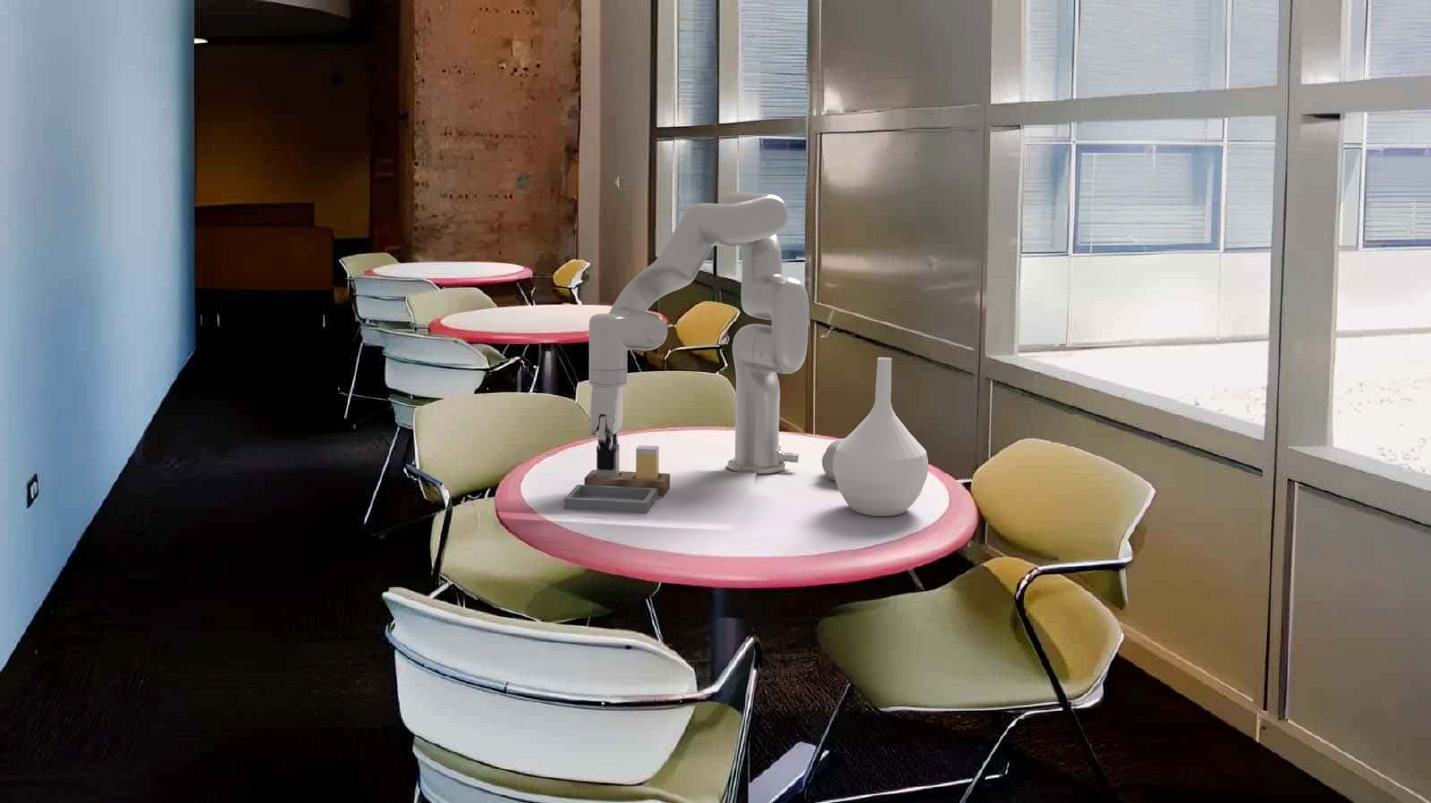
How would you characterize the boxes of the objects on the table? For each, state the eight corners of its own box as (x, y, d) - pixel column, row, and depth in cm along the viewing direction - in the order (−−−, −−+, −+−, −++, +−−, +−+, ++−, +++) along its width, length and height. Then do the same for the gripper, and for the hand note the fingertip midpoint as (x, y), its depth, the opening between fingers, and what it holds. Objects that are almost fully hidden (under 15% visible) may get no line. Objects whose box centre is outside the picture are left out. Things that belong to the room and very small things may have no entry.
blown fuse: (619, 487, 265) (619, 444, 263) (616, 491, 262) (616, 447, 260) (599, 487, 265) (599, 443, 264) (596, 490, 262) (596, 446, 261)
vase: (833, 521, 247) (838, 364, 242) (829, 496, 265) (834, 350, 260) (931, 524, 246) (938, 367, 241) (921, 499, 264) (927, 352, 259)
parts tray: (657, 503, 258) (657, 488, 257) (647, 518, 247) (647, 502, 246) (577, 499, 260) (577, 484, 259) (564, 513, 249) (564, 498, 248)
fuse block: (669, 492, 266) (669, 473, 265) (663, 501, 259) (664, 481, 258) (592, 488, 268) (592, 469, 267) (584, 497, 261) (584, 477, 260)
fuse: (658, 489, 264) (658, 446, 262) (655, 493, 261) (656, 449, 259) (638, 488, 264) (639, 445, 263) (635, 492, 261) (636, 448, 260)
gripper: (598, 369, 268) (598, 457, 271) (579, 382, 252) (580, 476, 255) (634, 370, 267) (634, 459, 270) (618, 384, 251) (618, 477, 254)
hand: (607, 466), depth 263 cm, fingers closed on blown fuse, 3 cm apart
